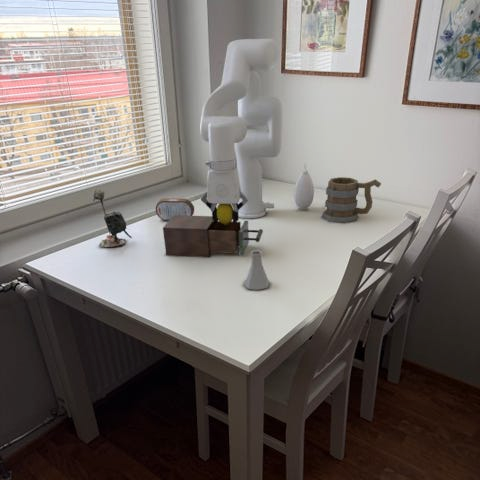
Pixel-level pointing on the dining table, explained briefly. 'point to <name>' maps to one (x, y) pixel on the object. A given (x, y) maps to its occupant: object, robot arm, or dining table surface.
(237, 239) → the drawer
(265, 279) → the flask
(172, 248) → the cabinet
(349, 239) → the dining table surface
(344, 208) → the tankard
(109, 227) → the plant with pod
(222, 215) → the lemon
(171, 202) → the tin
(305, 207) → the air blower bulb
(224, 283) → the dining table surface
